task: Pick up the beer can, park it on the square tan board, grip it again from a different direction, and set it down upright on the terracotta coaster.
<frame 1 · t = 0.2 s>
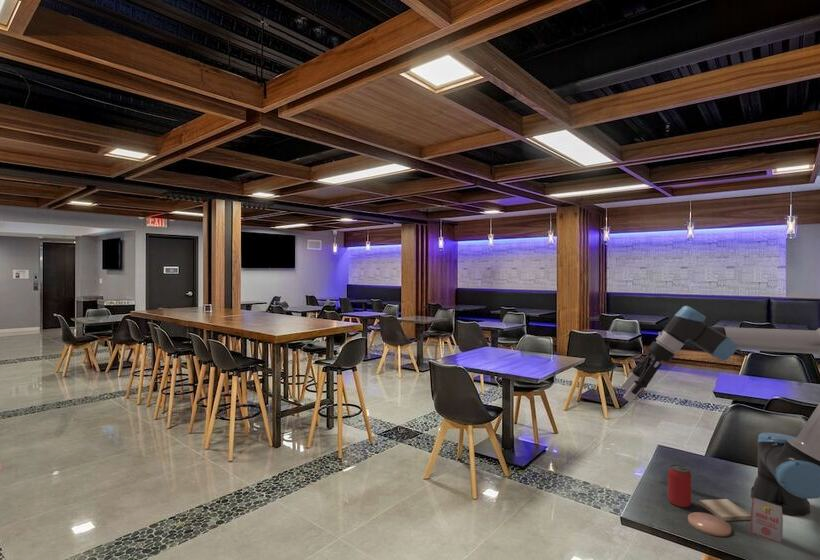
hand: (625, 394, 151), 35 cm above the table, tool tilted 35°, fingers open, 13 cm apart
printed cardboard carton: (766, 536, 127), on the table
beer can: (679, 503, 145), on the table
coaster: (709, 525, 132), on the table
square tan board: (724, 511, 140), on the table
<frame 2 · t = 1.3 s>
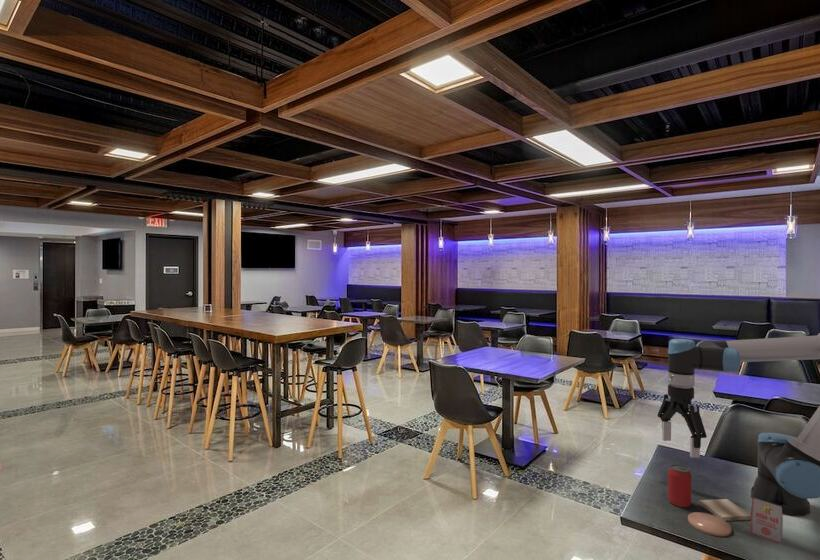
hand: (680, 448, 145), 19 cm above the table, tool pointing down, fingers open, 13 cm apart
nothing on the table moved.
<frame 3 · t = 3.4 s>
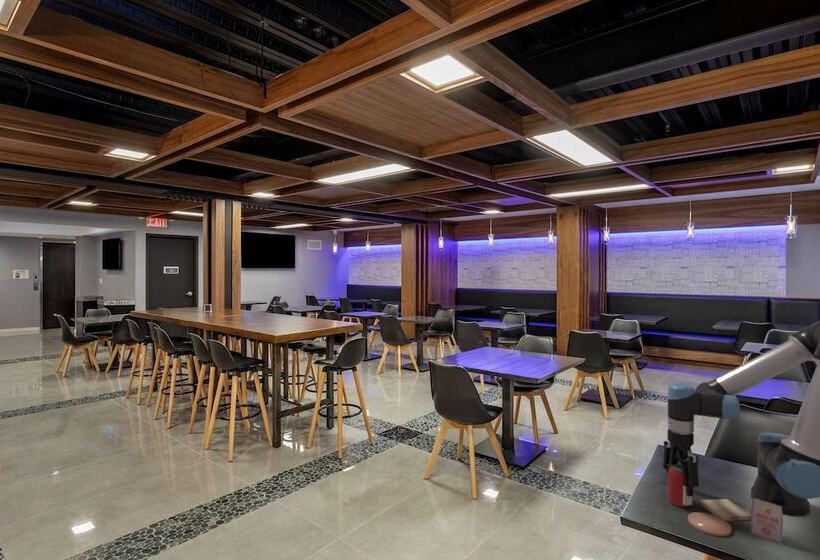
hand: (679, 498, 145), 1 cm above the table, tool pointing down, fingers closed on beer can, 7 cm apart
beer can: (679, 503, 145), on the table, touching gripper
everything else where it was.
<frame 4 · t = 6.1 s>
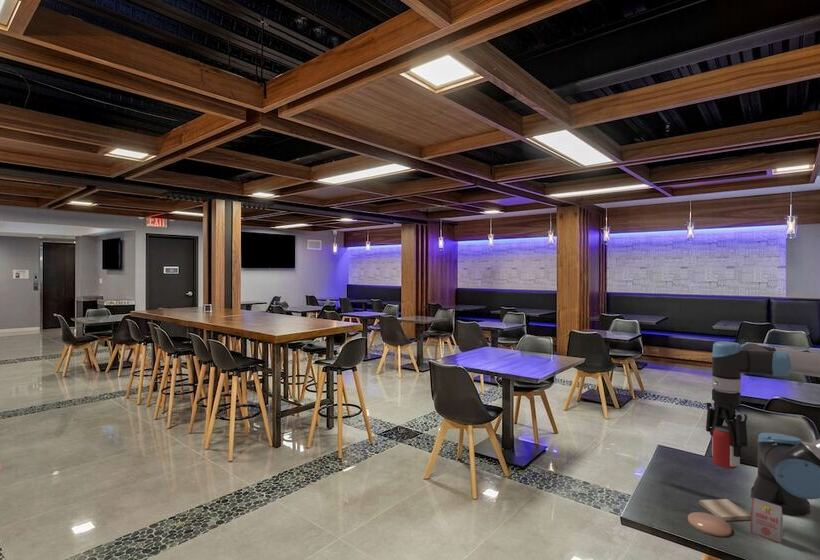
hand: (725, 460, 140), 17 cm above the table, tool pointing down, fingers closed on beer can, 7 cm apart
beer can: (724, 465, 140), point 15 cm above the table, touching gripper
everything else where it was.
when the fingers open (4 cm above the table, at t = 8.7 s): beer can drops 1 cm, resting on square tan board.
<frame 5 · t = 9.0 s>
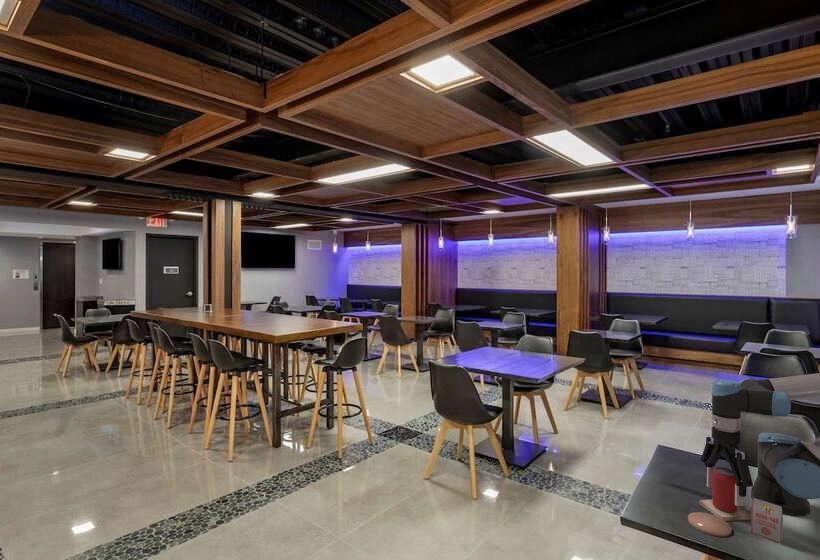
hand: (724, 495, 140), 5 cm above the table, tool pointing down, fingers open, 11 cm apart
beer can: (724, 508, 140), point 1 cm above the table, touching square tan board
everything else where it was.
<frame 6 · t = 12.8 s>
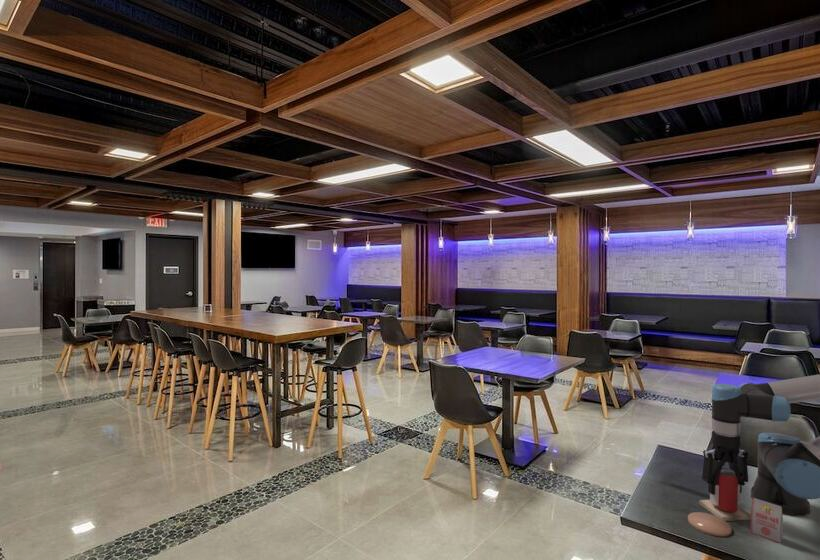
hand: (724, 503, 140), 3 cm above the table, tool pointing down, fingers closed on beer can, 7 cm apart
beer can: (724, 508, 140), point 1 cm above the table, touching gripper, square tan board
everything else where it was.
when the fingers open (4 cm above the table, at t = 17.9 s): beer can drops 1 cm, resting on coaster.
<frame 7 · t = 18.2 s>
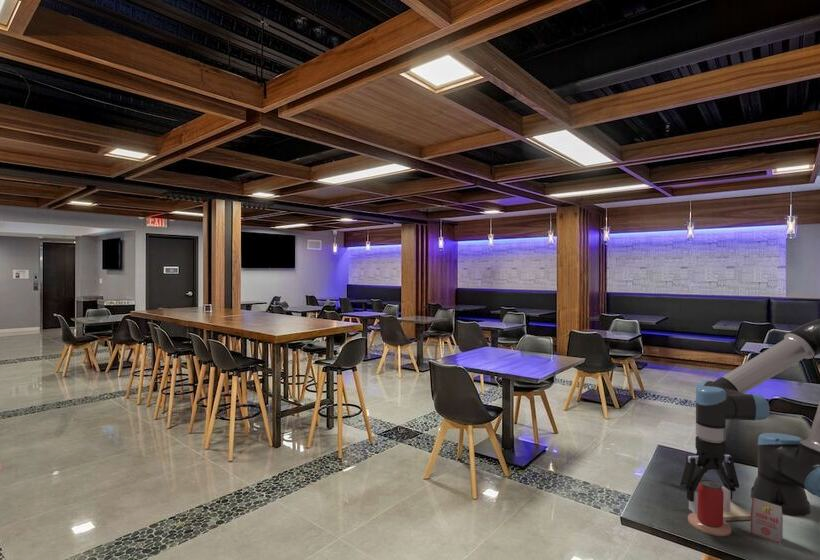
hand: (709, 510, 132), 5 cm above the table, tool pointing down, fingers open, 10 cm apart
beer can: (709, 522, 132), point 1 cm above the table, touching coaster
everything else where it was.
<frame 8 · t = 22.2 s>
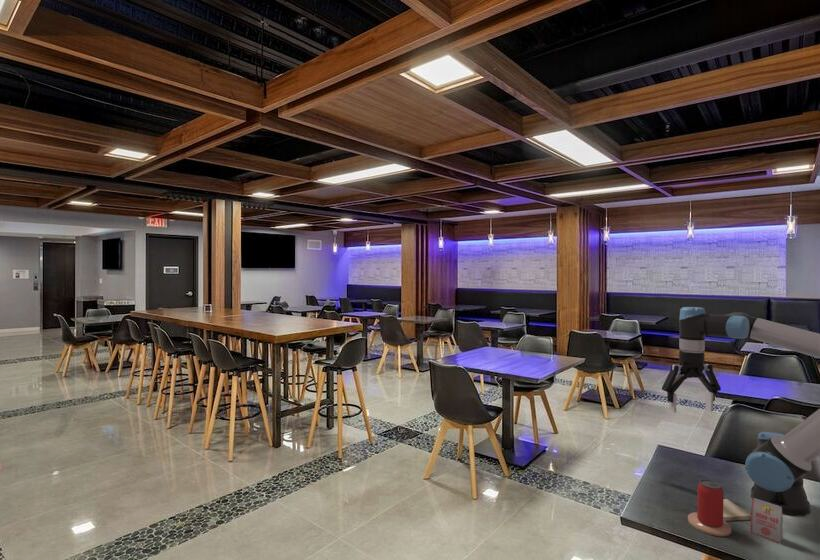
hand: (691, 410, 152), 29 cm above the table, tool pointing down, fingers open, 13 cm apart
nothing on the table moved.
at the end: beer can 0.2 cm off-centre on the coaster, point 0.8 cm above the coaster's base; beer can tilted 0°; the gripper is holding nothing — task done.
